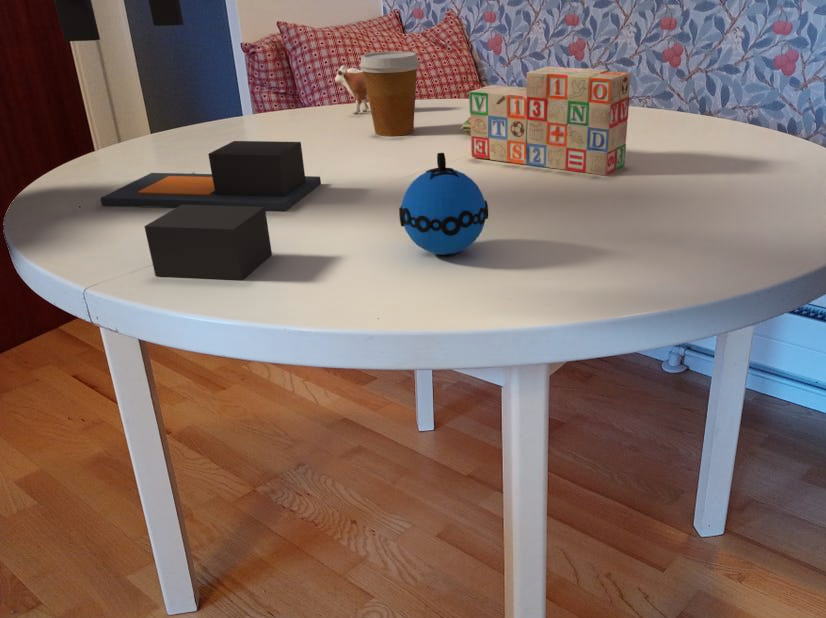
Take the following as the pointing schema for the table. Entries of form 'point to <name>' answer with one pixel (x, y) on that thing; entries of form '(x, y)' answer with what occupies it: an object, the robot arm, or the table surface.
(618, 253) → the table surface
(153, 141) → the table surface
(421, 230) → the ornament
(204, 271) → the loose block
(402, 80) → the disposable coffee cup
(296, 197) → the pad base
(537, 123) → the stack of blocks
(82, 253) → the table surface
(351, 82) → the bull figurine
